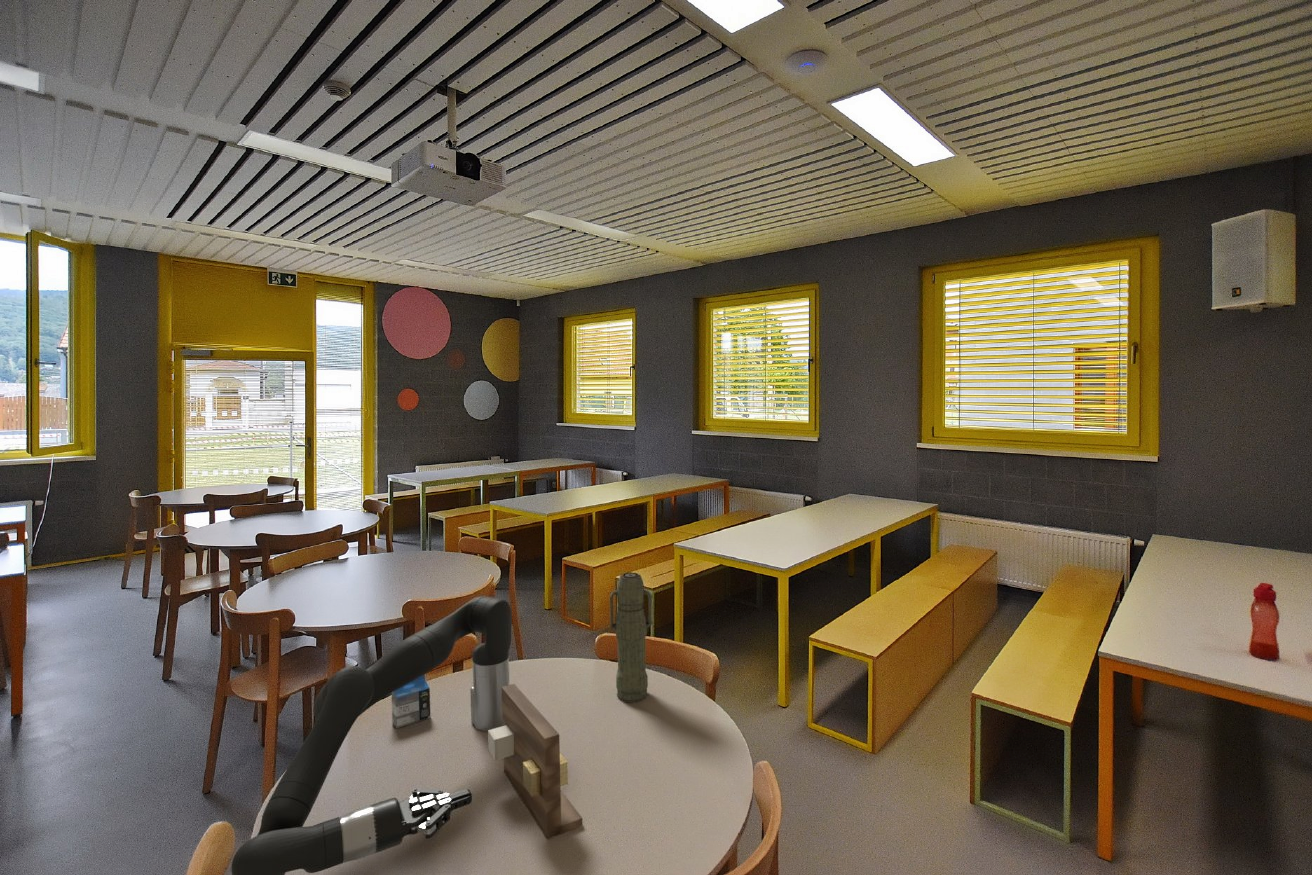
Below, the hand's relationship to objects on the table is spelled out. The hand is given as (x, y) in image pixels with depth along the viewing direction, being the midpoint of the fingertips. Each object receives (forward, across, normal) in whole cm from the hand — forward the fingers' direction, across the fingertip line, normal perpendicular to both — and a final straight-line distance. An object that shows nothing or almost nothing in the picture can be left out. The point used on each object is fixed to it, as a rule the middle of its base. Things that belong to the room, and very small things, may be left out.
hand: (470, 795), depth 119 cm
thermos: (+56, +38, +11) cm, 69 cm away
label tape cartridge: (0, +57, +11) cm, 58 cm away
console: (+17, +8, +11) cm, 21 cm away
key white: (+13, +16, +3) cm, 21 cm away
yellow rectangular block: (+15, 0, +3) cm, 15 cm away
